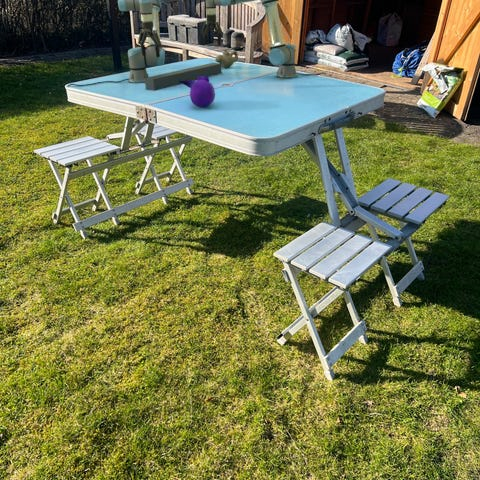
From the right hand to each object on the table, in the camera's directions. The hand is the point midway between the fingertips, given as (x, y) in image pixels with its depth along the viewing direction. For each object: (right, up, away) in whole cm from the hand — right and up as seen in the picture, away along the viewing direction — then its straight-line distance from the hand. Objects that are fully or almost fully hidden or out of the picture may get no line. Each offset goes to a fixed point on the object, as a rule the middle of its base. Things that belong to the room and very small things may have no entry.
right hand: (212, 45), depth 350 cm
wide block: (-19, -32, -12) cm, 39 cm away
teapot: (+10, -6, +32) cm, 34 cm away
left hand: (-39, -27, -45) cm, 66 cm away
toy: (-3, -71, -78) cm, 105 cm away
